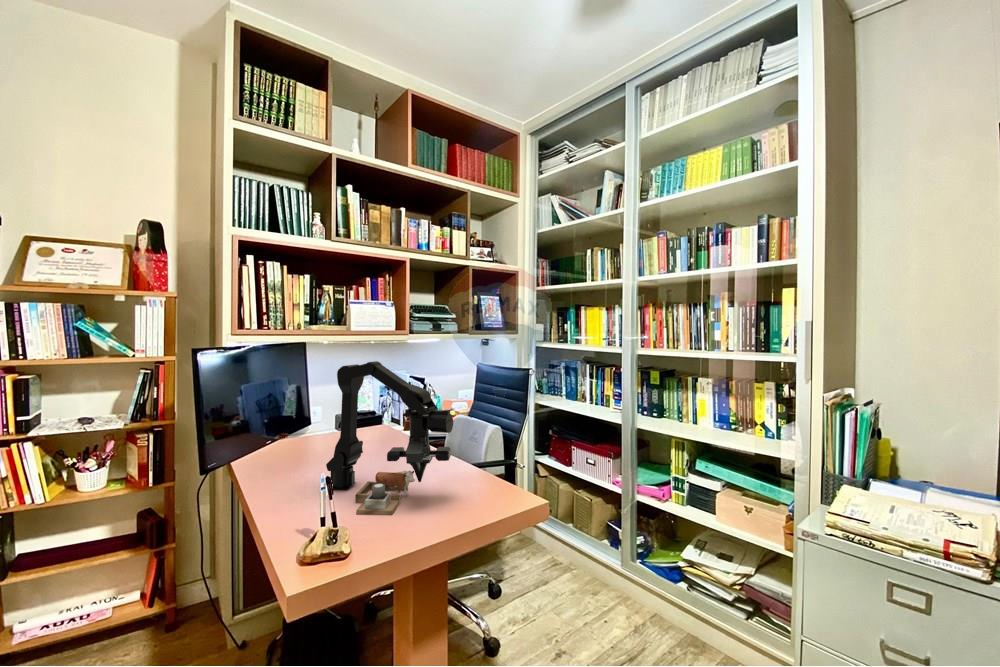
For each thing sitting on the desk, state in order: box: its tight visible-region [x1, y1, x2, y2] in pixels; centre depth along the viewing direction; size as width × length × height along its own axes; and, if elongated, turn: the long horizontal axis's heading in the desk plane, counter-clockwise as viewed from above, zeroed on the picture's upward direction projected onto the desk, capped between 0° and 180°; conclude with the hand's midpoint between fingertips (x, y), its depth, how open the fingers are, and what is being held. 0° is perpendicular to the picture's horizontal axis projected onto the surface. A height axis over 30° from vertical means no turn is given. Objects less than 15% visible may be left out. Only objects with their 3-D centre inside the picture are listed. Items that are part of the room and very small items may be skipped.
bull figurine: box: [374, 470, 416, 499], centre depth 126 cm, size 4×13×8 cm, turn 75°
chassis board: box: [354, 480, 409, 516], centre depth 122 cm, size 13×18×4 cm
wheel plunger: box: [371, 484, 386, 499], centre depth 117 cm, size 4×4×3 cm
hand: (419, 481), depth 125 cm, fingers closed
